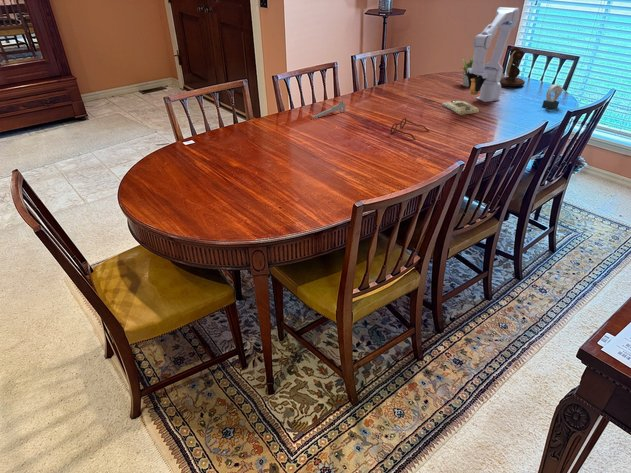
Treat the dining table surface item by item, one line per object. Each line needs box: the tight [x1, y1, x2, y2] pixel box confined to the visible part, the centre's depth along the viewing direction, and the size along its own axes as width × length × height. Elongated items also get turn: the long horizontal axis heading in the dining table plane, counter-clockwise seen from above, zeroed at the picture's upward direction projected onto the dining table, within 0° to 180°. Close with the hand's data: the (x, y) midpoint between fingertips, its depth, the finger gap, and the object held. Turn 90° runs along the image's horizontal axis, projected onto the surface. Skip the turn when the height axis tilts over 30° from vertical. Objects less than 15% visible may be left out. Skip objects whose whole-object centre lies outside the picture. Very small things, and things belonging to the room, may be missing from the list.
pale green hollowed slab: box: [441, 100, 480, 116], centre depth 221 cm, size 10×18×3 cm, turn 15°
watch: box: [541, 84, 564, 110], centre depth 215 cm, size 6×8×11 cm
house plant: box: [460, 57, 473, 88], centre depth 251 cm, size 14×14×16 cm
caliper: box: [311, 100, 346, 120], centre depth 219 cm, size 20×1×6 cm, turn 120°
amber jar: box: [469, 77, 479, 96], centre depth 217 cm, size 5×5×7 cm
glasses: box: [390, 117, 430, 141], centre depth 195 cm, size 13×13×5 cm
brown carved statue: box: [499, 47, 526, 88], centre depth 248 cm, size 15×15×20 cm
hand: (474, 90), depth 218 cm, fingers closed on amber jar, 5 cm apart
